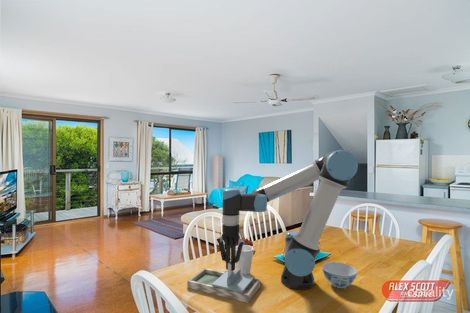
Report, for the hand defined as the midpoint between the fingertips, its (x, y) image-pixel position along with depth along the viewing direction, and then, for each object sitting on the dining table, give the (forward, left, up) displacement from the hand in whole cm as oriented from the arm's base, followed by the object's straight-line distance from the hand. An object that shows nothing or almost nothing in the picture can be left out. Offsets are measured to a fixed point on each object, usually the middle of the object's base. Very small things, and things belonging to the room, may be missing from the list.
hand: (230, 277), depth 120 cm
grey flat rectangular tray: (+3, 0, -5) cm, 6 cm away
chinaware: (-44, -24, -6) cm, 50 cm away
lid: (-2, 0, -2) cm, 3 cm away
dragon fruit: (+12, -47, -6) cm, 49 cm away
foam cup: (0, -16, -6) cm, 17 cm away
